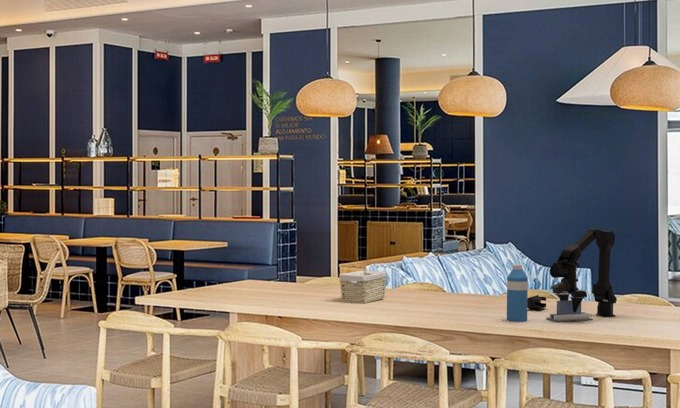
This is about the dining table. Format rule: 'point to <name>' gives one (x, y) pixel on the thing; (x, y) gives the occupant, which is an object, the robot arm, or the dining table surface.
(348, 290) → the storage basket
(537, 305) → the end cap
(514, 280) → the water bottle
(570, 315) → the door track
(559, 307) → the door panel
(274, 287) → the dining table surface
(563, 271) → the robot arm
